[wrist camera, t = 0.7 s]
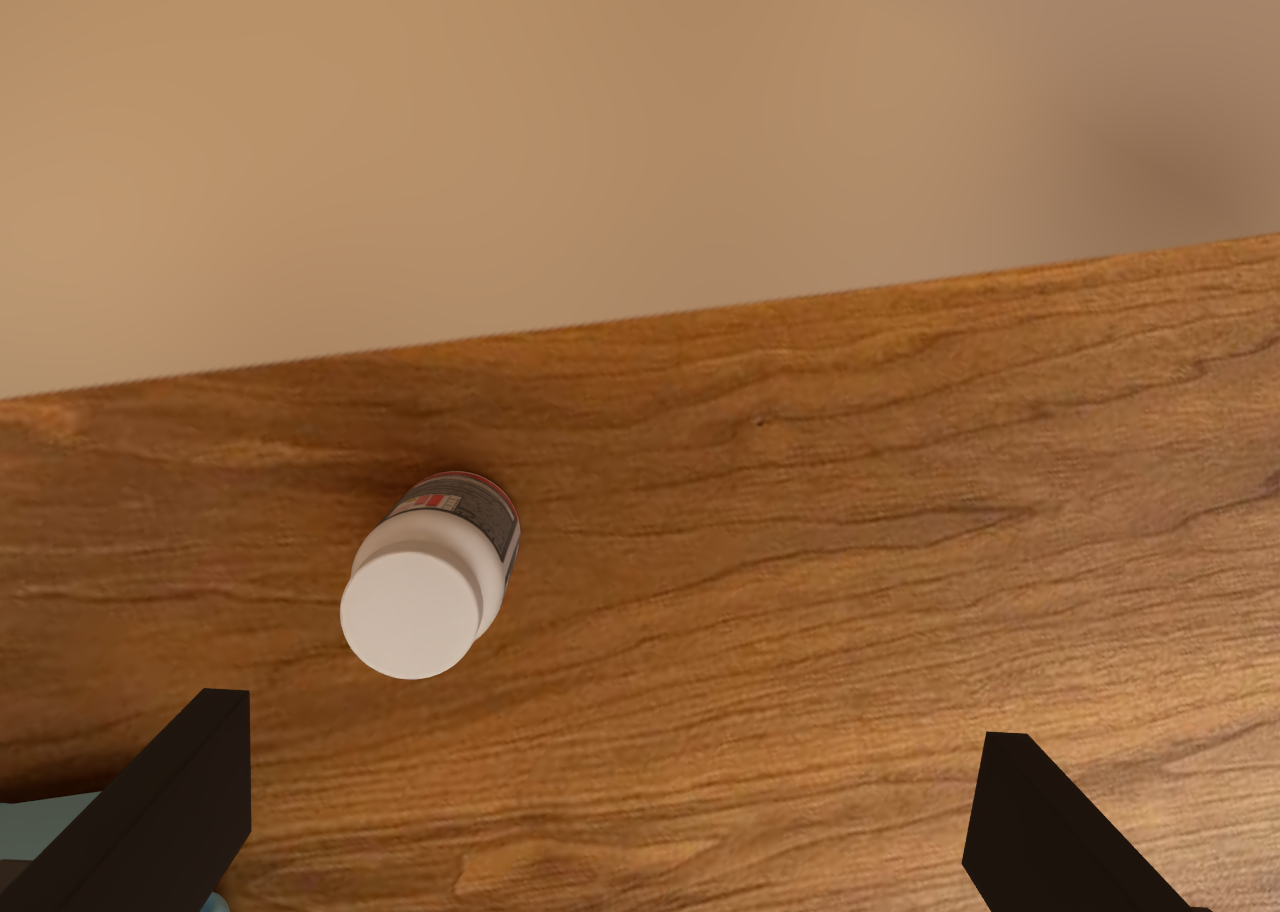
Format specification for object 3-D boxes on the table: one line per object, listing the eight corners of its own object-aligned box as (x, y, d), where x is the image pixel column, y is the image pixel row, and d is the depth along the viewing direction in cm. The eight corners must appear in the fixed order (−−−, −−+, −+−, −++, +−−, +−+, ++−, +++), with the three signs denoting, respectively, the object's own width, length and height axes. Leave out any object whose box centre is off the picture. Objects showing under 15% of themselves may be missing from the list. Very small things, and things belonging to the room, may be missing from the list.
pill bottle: (382, 481, 36) (302, 552, 27) (506, 457, 37) (471, 518, 27) (414, 599, 38) (348, 707, 28) (533, 575, 38) (510, 675, 28)
